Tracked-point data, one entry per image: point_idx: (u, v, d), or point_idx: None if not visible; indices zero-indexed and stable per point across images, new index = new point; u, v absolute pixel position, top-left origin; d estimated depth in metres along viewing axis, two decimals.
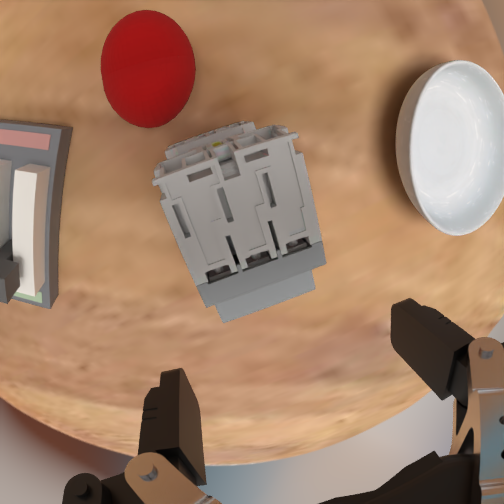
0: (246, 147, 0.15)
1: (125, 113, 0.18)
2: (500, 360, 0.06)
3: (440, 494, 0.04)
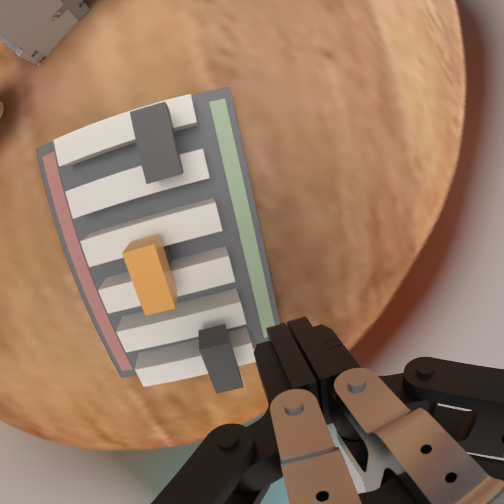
0: None
1: None
2: (367, 398, 0.07)
3: None
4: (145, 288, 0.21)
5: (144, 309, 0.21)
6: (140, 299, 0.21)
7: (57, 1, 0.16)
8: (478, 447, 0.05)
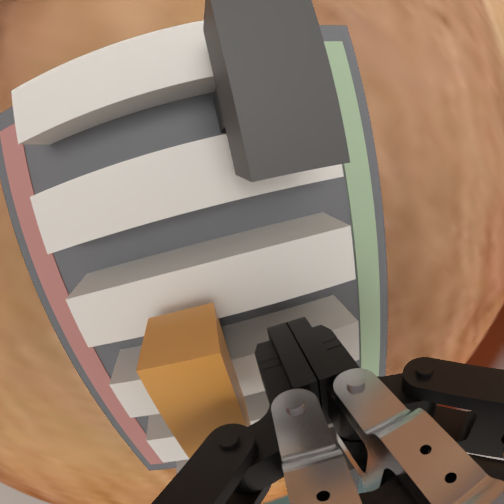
0: None
1: None
2: (366, 398, 0.07)
3: None
4: (196, 431, 0.09)
5: None
6: (184, 446, 0.09)
7: None
8: (478, 447, 0.05)
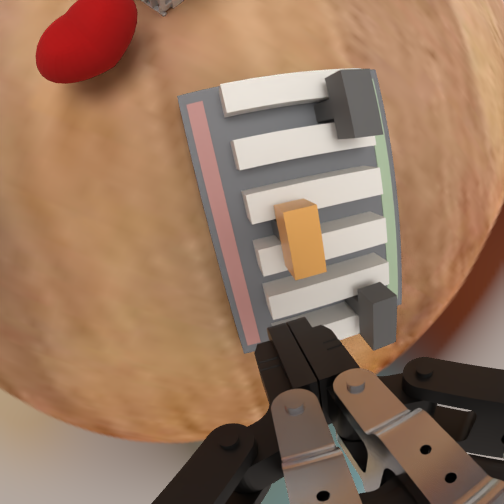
0: None
1: (123, 13, 0.16)
2: (366, 398, 0.07)
3: None
4: (301, 250, 0.21)
5: (296, 273, 0.22)
6: (294, 262, 0.22)
7: None
8: (478, 447, 0.05)
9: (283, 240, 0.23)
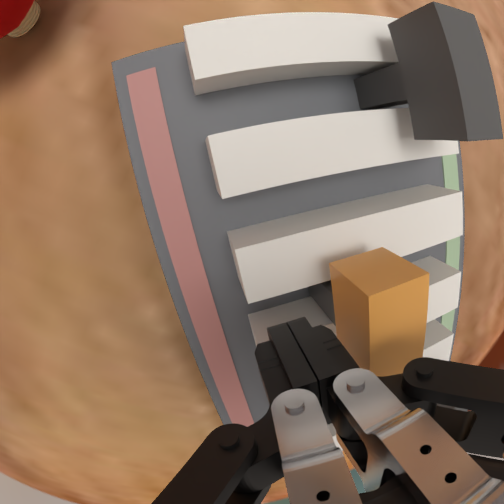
0: None
1: None
2: (366, 398, 0.07)
3: None
4: (388, 361, 0.10)
5: None
6: None
7: None
8: (478, 447, 0.05)
9: (348, 333, 0.11)
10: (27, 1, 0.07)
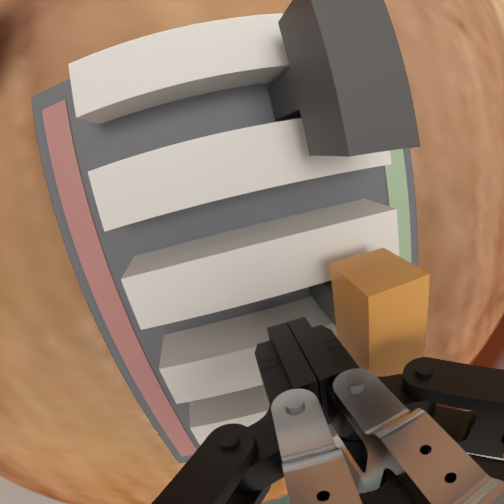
0: None
1: None
2: (366, 398, 0.07)
3: None
4: (388, 361, 0.10)
5: None
6: None
7: None
8: (478, 447, 0.05)
9: (348, 334, 0.11)
10: None
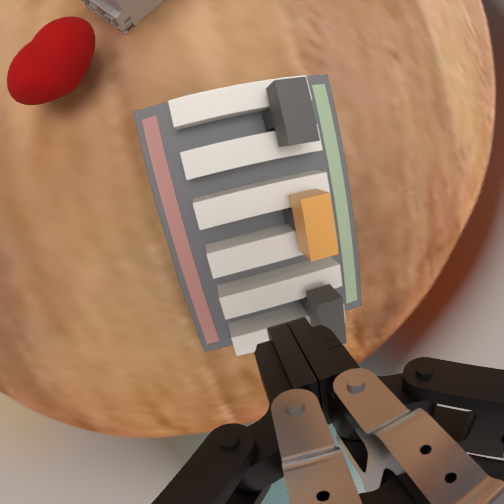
0: None
1: (79, 39, 0.17)
2: (366, 398, 0.07)
3: None
4: (316, 234, 0.24)
5: (311, 255, 0.24)
6: (310, 245, 0.24)
7: None
8: (478, 447, 0.05)
9: (299, 226, 0.25)
10: (84, 74, 0.21)
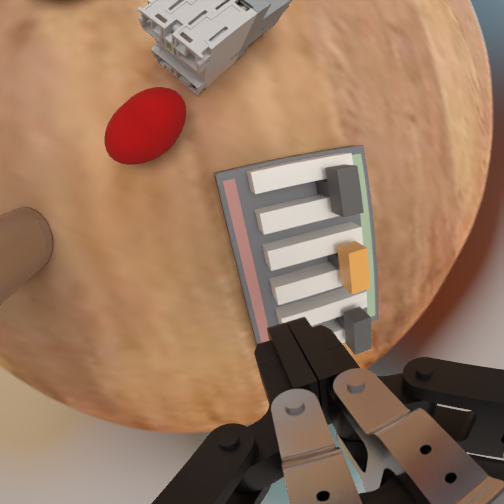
0: (159, 24, 0.18)
1: (178, 115, 0.27)
2: (366, 398, 0.07)
3: None
4: (357, 276, 0.33)
5: (352, 290, 0.34)
6: (352, 283, 0.33)
7: (240, 48, 0.28)
8: (478, 447, 0.05)
9: (343, 268, 0.35)
10: None
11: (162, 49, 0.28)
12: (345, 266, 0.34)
